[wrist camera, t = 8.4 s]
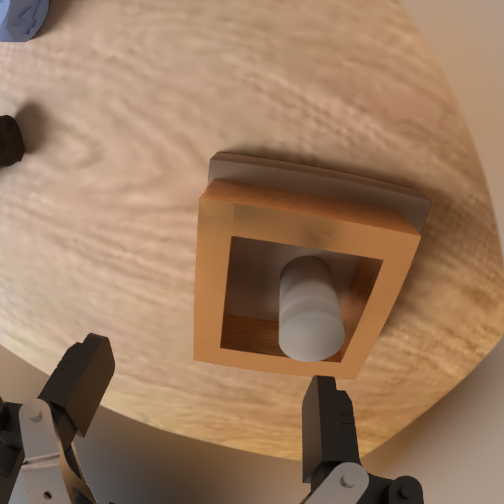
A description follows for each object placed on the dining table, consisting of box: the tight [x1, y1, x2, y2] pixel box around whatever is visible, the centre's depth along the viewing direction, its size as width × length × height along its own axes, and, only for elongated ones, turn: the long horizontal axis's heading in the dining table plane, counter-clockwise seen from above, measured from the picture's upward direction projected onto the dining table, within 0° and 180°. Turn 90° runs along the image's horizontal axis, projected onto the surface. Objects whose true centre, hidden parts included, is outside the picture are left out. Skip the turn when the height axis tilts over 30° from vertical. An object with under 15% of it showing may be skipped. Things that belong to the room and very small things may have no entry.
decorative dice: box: [0, 0, 49, 42], centre depth 10 cm, size 4×4×4 cm
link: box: [194, 179, 422, 380], centre depth 17 cm, size 10×10×3 cm
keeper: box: [208, 152, 432, 362], centre depth 17 cm, size 12×12×7 cm
